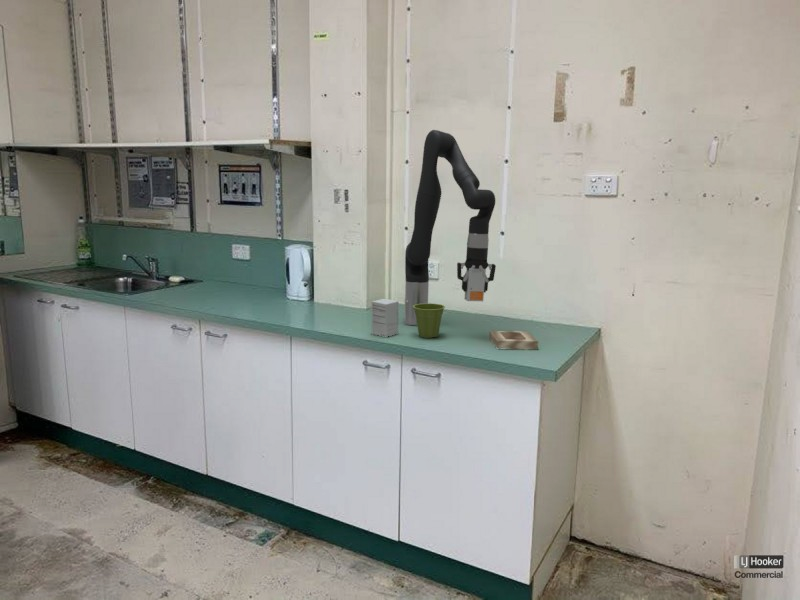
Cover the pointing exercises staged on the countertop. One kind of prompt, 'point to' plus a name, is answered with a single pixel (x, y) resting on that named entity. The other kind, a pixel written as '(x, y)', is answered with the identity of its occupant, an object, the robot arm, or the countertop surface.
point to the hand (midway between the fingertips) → (474, 291)
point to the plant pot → (428, 319)
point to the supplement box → (385, 317)
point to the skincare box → (475, 285)
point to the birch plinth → (513, 339)
